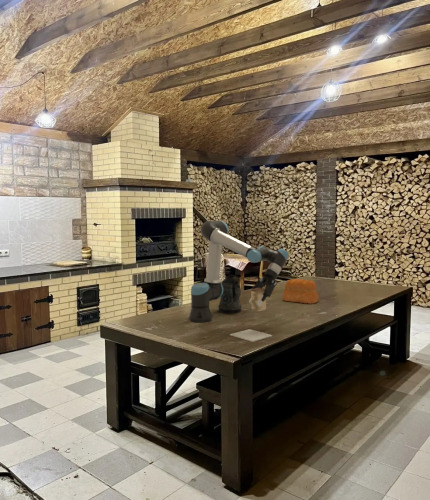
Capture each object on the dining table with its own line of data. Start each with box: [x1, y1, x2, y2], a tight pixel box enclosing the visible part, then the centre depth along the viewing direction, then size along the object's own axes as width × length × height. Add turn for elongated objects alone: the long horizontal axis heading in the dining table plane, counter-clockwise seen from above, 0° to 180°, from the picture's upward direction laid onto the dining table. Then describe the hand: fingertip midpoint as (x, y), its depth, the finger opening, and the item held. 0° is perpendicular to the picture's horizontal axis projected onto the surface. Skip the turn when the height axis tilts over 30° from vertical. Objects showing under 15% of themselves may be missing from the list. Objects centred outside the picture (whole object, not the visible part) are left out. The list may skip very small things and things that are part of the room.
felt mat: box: [229, 328, 273, 343], centre depth 249 cm, size 18×16×1 cm
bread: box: [282, 278, 319, 305], centre depth 343 cm, size 16×26×17 cm, turn 56°
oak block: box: [250, 288, 267, 312], centre depth 260 cm, size 6×6×12 cm
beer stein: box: [218, 275, 242, 314], centre depth 311 cm, size 16×19×25 cm
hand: (254, 304), depth 258 cm, fingers closed on oak block, 6 cm apart
